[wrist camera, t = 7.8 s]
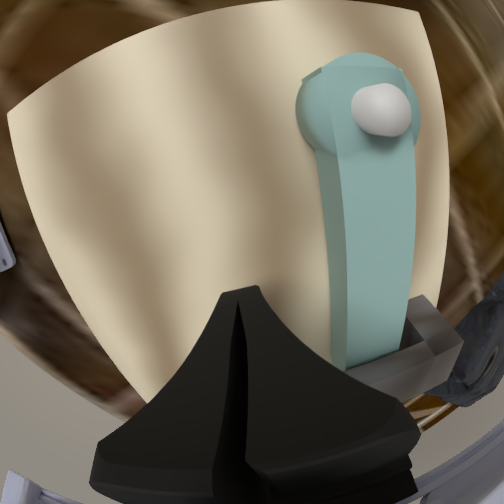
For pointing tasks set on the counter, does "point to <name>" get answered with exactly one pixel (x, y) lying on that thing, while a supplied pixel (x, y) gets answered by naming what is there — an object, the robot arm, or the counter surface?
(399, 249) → the link
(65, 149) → the keeper board
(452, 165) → the counter surface
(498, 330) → the dark grey cloth
